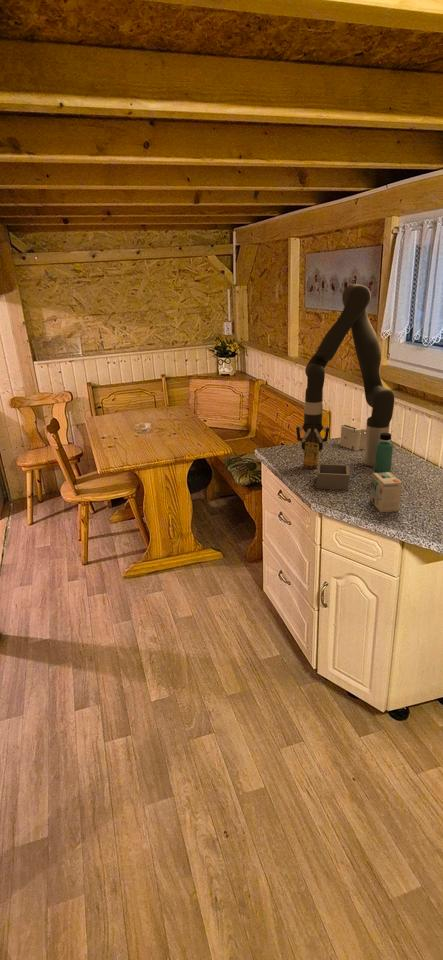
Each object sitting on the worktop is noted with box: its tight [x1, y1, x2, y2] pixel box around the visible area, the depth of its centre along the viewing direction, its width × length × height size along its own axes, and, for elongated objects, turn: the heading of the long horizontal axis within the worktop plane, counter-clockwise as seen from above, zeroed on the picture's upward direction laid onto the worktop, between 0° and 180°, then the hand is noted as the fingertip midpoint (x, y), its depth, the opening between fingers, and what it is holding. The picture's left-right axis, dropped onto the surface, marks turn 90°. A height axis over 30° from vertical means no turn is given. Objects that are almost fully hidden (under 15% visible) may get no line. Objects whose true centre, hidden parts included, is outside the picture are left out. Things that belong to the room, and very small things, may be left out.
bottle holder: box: [316, 463, 350, 491], centre depth 201 cm, size 12×12×6 cm
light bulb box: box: [369, 471, 403, 513], centre depth 179 cm, size 11×7×11 cm, turn 5°
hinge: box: [339, 424, 366, 451], centre depth 241 cm, size 14×5×10 cm, turn 44°
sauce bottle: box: [302, 425, 320, 470], centre depth 216 cm, size 7×6×20 cm
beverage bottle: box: [373, 432, 394, 473], centre depth 198 cm, size 6×7×20 cm
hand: (311, 450), depth 217 cm, fingers closed on sauce bottle, 6 cm apart
